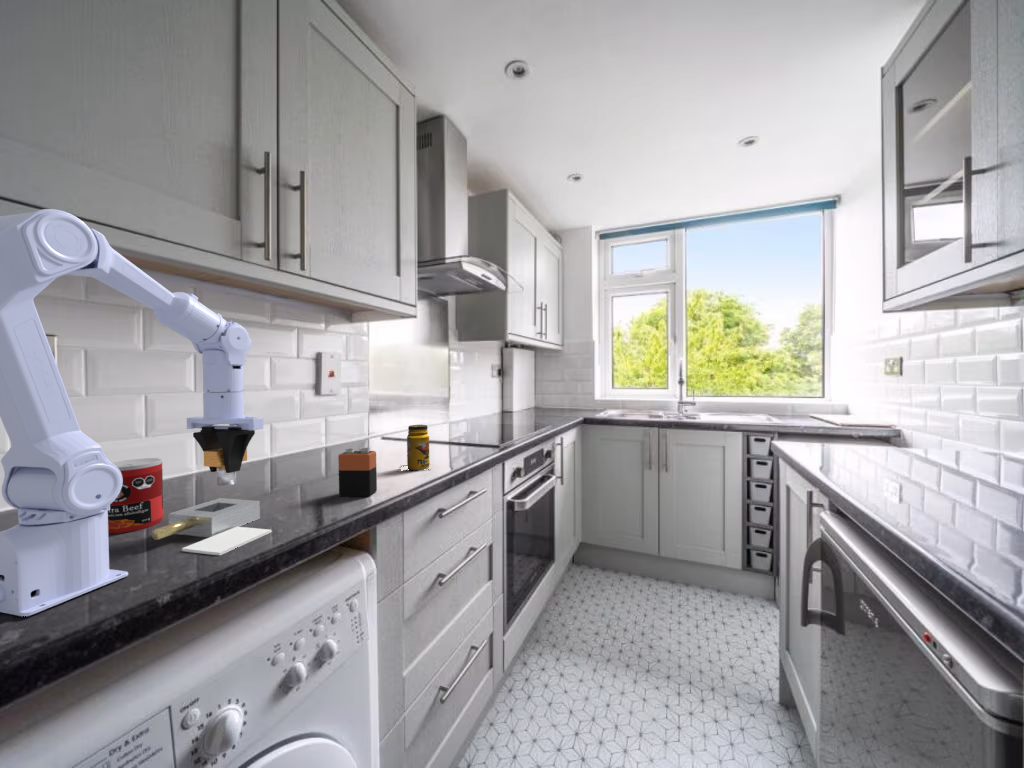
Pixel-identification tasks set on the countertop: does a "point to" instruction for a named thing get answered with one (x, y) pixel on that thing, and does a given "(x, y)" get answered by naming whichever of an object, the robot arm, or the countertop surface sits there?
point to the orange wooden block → (220, 466)
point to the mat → (226, 540)
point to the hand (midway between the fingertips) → (225, 471)
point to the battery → (357, 473)
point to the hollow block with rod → (210, 518)
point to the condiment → (417, 448)
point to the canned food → (137, 496)
